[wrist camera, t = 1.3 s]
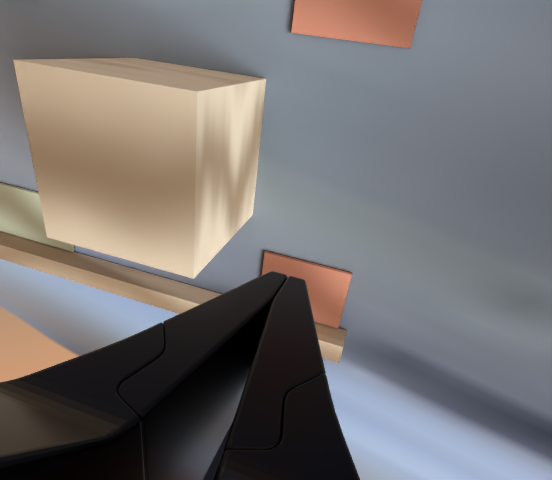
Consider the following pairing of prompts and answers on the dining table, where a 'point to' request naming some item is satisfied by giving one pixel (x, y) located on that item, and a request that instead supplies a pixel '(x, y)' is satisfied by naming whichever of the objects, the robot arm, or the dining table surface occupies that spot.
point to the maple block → (142, 156)
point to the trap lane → (319, 279)
